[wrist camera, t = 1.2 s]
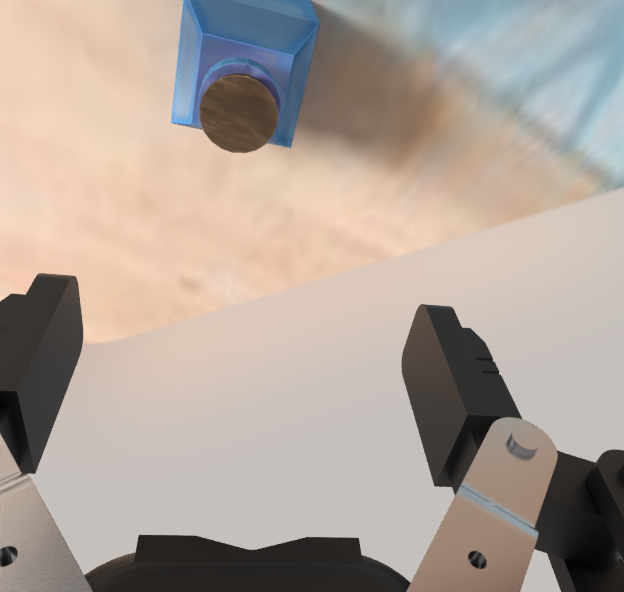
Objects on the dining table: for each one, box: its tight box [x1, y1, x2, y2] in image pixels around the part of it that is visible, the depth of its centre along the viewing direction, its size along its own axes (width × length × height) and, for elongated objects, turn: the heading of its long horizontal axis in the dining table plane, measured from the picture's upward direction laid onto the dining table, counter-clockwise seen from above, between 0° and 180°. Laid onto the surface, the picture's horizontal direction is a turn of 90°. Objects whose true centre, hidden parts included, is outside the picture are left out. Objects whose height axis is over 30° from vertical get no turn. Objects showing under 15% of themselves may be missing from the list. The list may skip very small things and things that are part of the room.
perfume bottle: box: [171, 0, 320, 153], centre depth 27 cm, size 6×6×12 cm
